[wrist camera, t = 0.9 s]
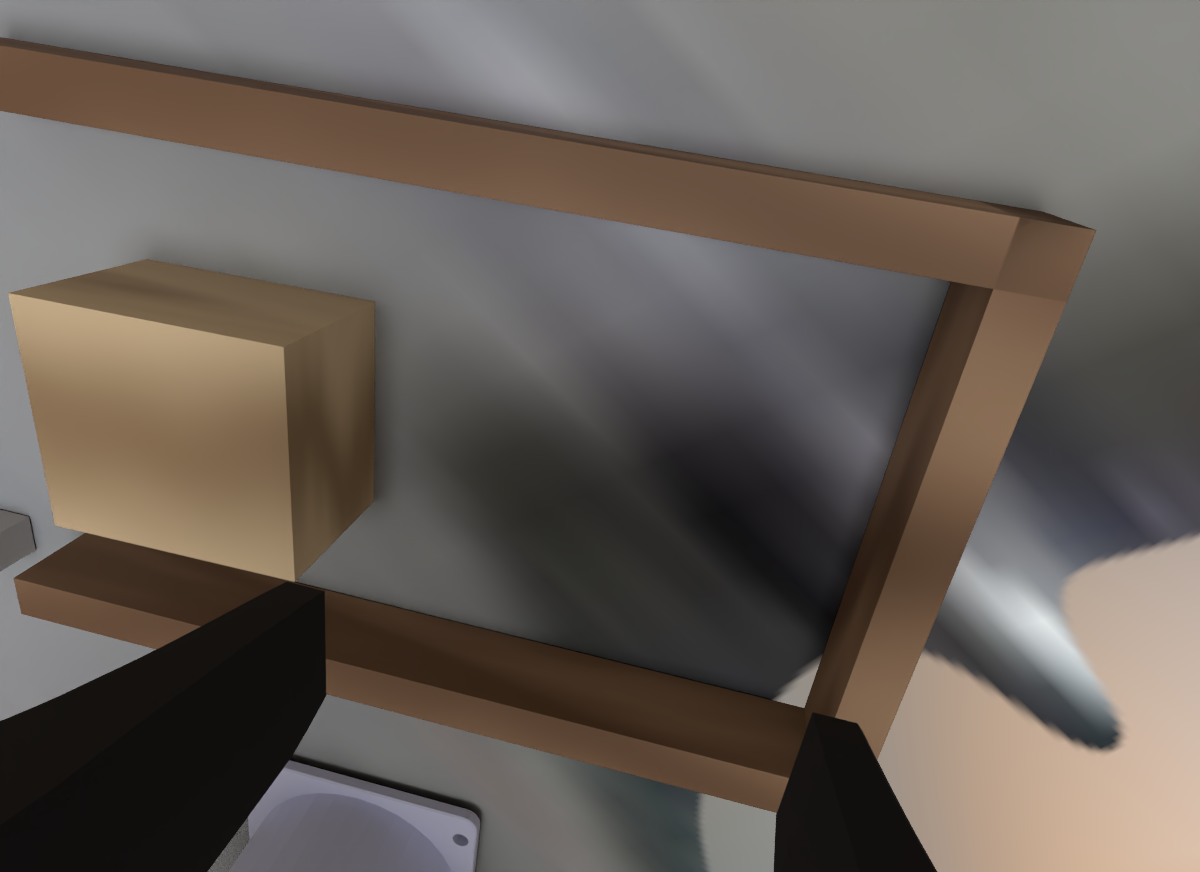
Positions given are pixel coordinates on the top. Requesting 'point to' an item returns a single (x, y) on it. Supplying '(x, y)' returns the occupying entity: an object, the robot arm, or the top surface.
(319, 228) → the top surface
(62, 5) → the top surface
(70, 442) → the oak block
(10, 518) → the grey corral
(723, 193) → the brown u-shaped frame
